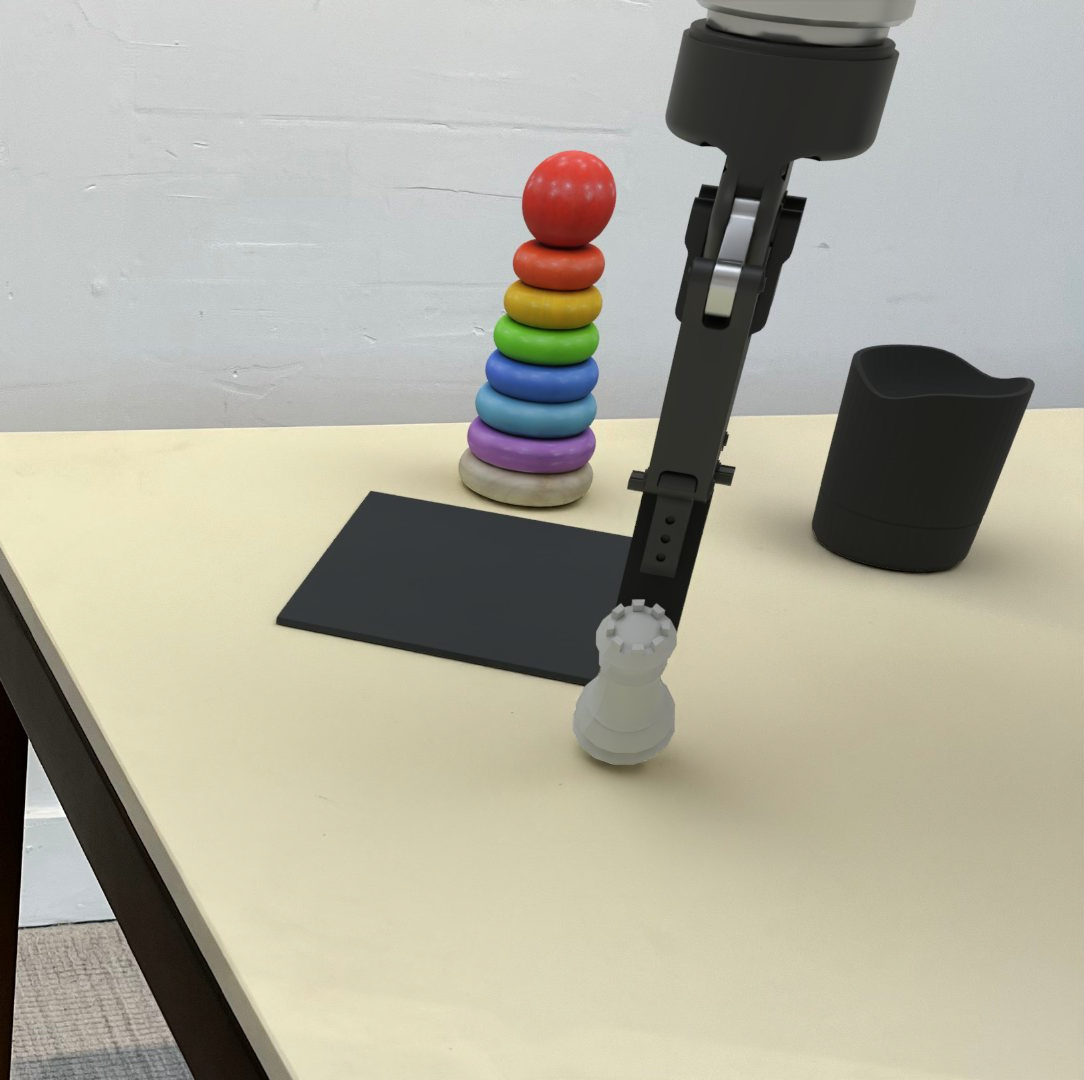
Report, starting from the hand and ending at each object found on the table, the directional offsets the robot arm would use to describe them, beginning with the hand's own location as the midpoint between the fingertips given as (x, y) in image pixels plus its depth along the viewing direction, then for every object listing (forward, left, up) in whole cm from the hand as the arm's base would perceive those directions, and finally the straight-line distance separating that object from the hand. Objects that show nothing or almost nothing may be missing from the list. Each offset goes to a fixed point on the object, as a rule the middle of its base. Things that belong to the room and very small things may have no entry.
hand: (642, 634), depth 79 cm
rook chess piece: (0, -1, -5) cm, 5 cm away
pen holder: (-11, -34, -6) cm, 36 cm away
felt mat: (+10, -17, -6) cm, 21 cm away
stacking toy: (+10, -33, -6) cm, 35 cm away
